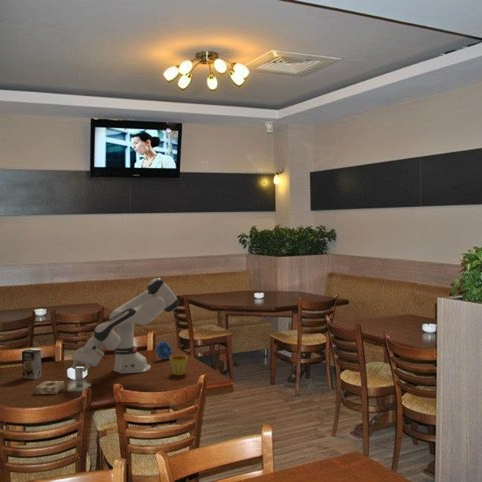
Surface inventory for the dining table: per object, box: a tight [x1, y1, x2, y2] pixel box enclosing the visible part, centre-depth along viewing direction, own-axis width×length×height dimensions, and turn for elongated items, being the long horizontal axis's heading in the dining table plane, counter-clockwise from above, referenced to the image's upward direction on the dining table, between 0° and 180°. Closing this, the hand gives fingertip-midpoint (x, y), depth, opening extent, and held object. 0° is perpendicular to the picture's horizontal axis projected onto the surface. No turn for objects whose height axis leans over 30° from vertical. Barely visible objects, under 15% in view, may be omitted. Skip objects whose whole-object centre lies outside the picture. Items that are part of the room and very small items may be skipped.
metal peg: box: [74, 367, 84, 387], centre depth 323 cm, size 4×4×10 cm
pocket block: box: [35, 380, 65, 395], centre depth 320 cm, size 11×11×4 cm
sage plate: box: [67, 383, 92, 392], centre depth 323 cm, size 10×10×1 cm
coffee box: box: [21, 348, 42, 380], centre depth 346 cm, size 9×6×16 cm
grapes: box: [155, 341, 173, 360], centre depth 379 cm, size 12×7×12 cm, turn 119°
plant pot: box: [169, 355, 188, 376], centre depth 346 cm, size 10×10×10 cm
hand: (77, 369), depth 322 cm, fingers open, 8 cm apart
